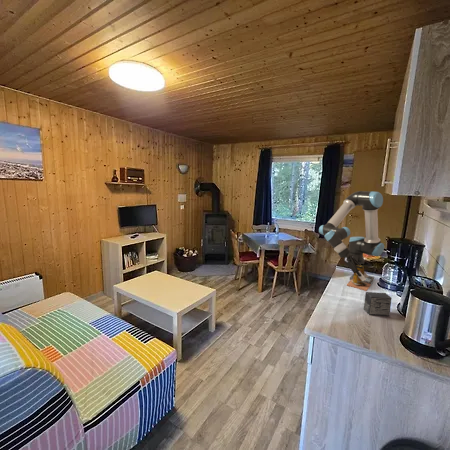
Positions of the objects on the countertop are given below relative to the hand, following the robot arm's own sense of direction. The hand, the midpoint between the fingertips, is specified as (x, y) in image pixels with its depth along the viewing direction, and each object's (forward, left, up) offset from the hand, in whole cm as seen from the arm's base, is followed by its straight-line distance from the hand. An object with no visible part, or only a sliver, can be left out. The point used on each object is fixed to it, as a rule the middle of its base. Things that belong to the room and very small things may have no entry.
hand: (365, 278), depth 158 cm
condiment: (0, -4, -4) cm, 6 cm away
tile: (0, -4, -6) cm, 7 cm away
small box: (+32, +12, -6) cm, 35 cm away
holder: (-13, -5, -6) cm, 15 cm away
